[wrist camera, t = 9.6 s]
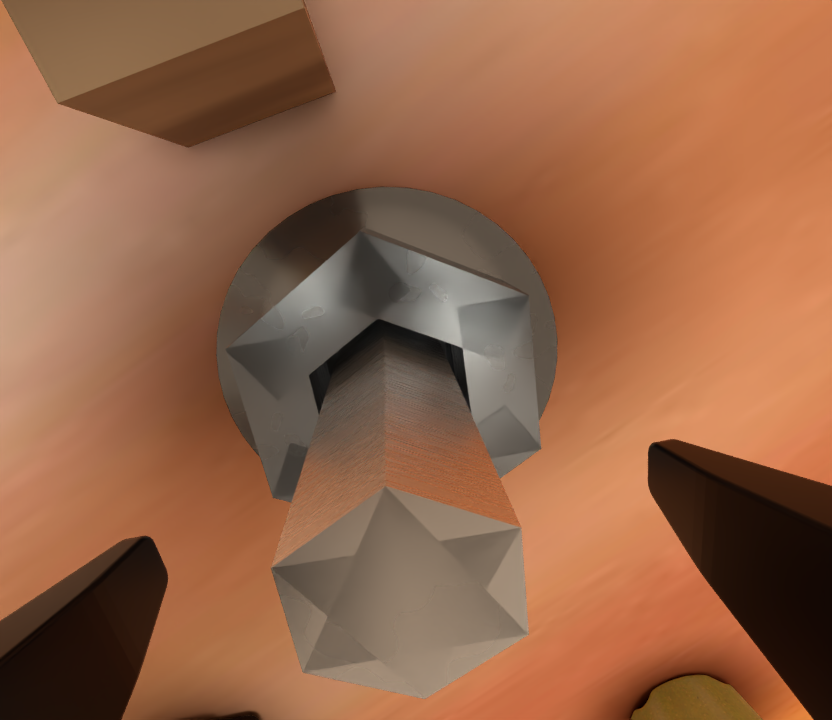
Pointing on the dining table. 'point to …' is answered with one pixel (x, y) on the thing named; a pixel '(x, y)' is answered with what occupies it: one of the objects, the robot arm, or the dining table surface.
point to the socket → (384, 318)
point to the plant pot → (695, 701)
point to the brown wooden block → (175, 61)
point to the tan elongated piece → (399, 527)
